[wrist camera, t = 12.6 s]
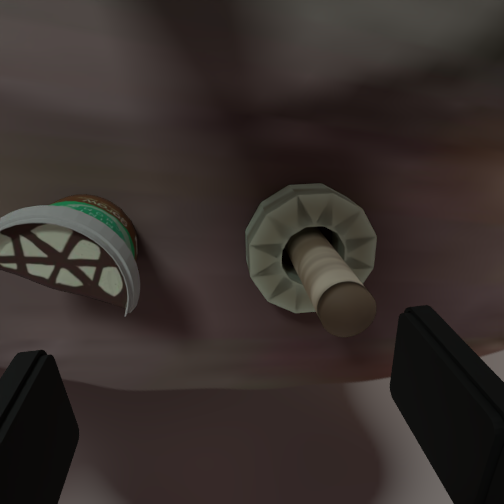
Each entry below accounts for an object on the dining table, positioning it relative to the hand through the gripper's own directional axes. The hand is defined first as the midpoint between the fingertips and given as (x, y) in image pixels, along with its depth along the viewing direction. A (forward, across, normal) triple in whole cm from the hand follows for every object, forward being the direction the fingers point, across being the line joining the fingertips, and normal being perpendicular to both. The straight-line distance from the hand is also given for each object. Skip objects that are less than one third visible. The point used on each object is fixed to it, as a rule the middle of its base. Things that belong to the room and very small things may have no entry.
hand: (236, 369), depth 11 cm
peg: (+28, -8, +9) cm, 30 cm away
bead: (+28, -9, +9) cm, 30 cm away
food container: (+28, +11, +4) cm, 31 cm away
